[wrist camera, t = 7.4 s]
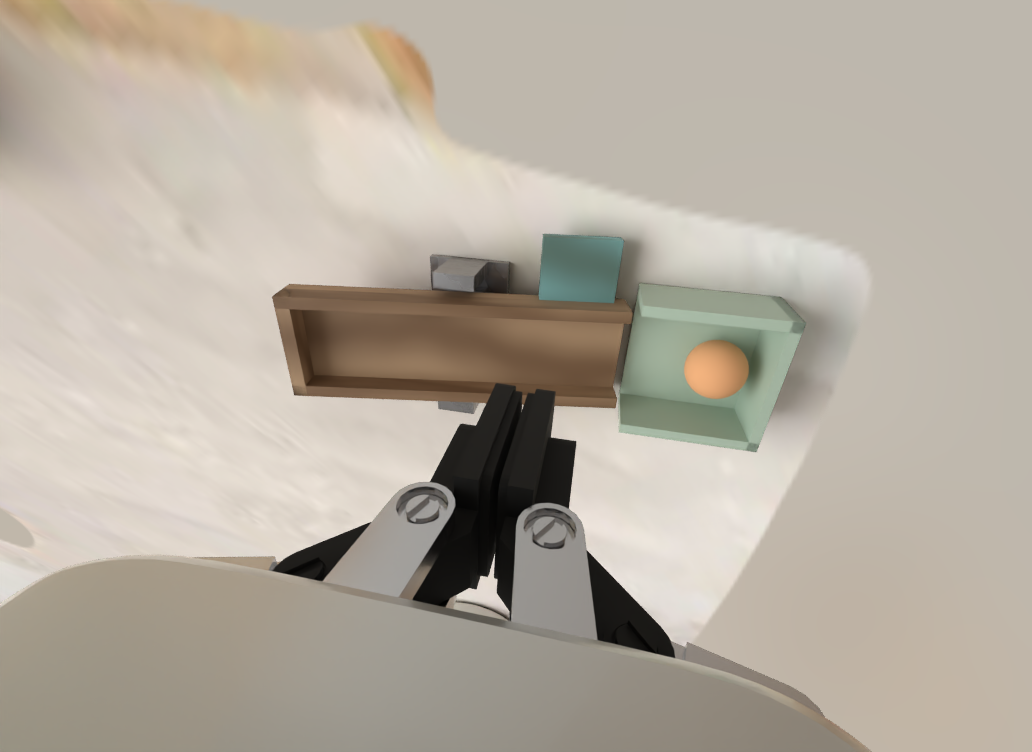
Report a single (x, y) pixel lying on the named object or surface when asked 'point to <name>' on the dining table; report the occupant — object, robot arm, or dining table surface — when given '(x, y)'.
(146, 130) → the dining table surface
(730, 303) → the tray
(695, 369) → the ball
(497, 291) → the fulcrum
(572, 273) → the lever
